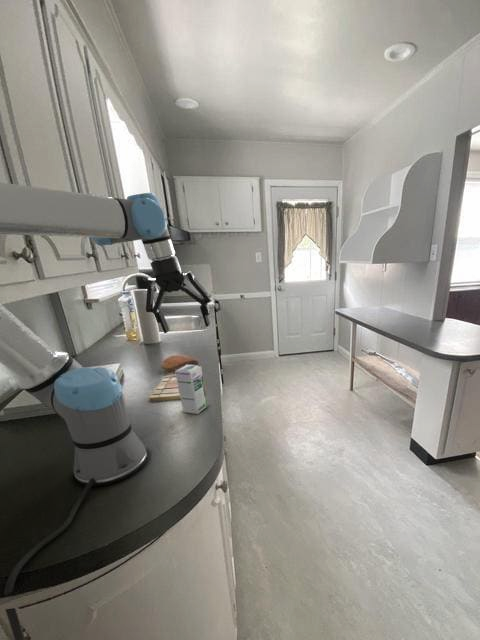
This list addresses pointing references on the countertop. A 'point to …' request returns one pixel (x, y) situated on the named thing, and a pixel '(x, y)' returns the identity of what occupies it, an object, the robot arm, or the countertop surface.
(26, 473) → the countertop surface
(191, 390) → the syrup box
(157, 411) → the countertop surface
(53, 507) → the countertop surface
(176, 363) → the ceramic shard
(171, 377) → the board
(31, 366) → the robot arm
